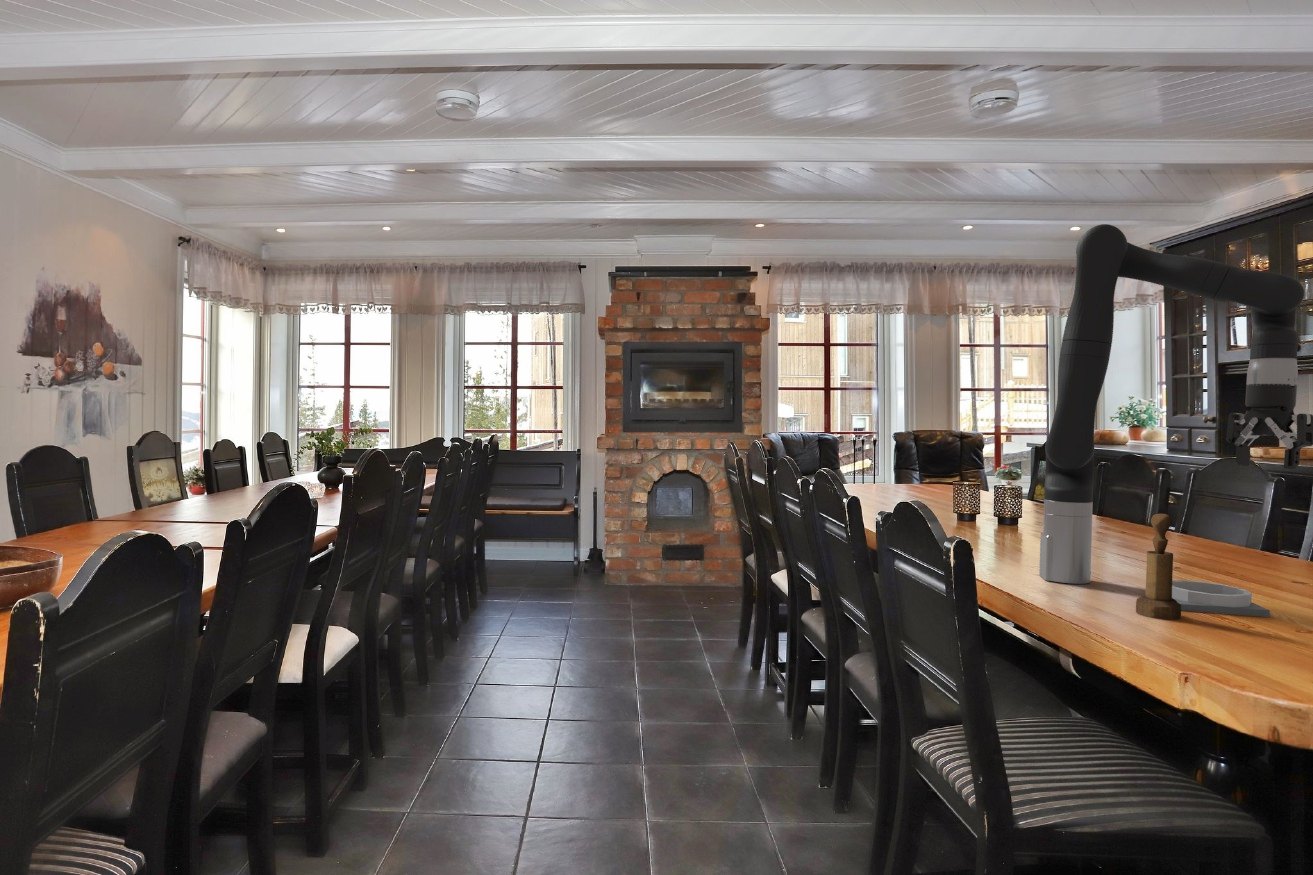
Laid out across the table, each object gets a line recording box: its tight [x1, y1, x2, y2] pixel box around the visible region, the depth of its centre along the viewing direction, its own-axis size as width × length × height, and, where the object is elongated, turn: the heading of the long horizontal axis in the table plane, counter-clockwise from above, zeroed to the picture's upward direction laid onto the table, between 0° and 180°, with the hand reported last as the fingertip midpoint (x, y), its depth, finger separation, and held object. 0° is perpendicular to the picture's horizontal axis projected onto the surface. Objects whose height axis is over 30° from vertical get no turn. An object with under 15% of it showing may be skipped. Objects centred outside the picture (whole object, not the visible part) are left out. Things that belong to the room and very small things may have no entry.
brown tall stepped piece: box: [1135, 513, 1182, 620], centre depth 132 cm, size 7×6×18 cm
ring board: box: [1172, 579, 1271, 618], centre depth 140 cm, size 14×14×3 cm
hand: (1266, 467), depth 143 cm, fingers open, 8 cm apart
